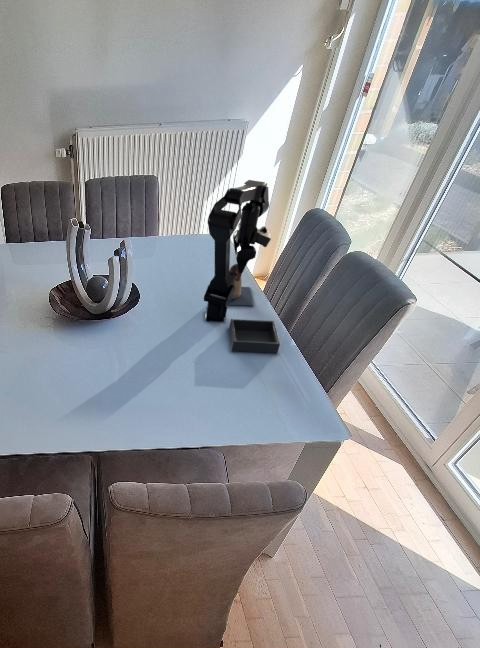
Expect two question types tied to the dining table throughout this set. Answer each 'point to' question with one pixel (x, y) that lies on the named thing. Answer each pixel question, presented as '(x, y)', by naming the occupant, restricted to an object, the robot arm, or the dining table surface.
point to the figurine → (236, 281)
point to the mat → (241, 298)
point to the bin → (253, 336)
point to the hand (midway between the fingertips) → (239, 267)
